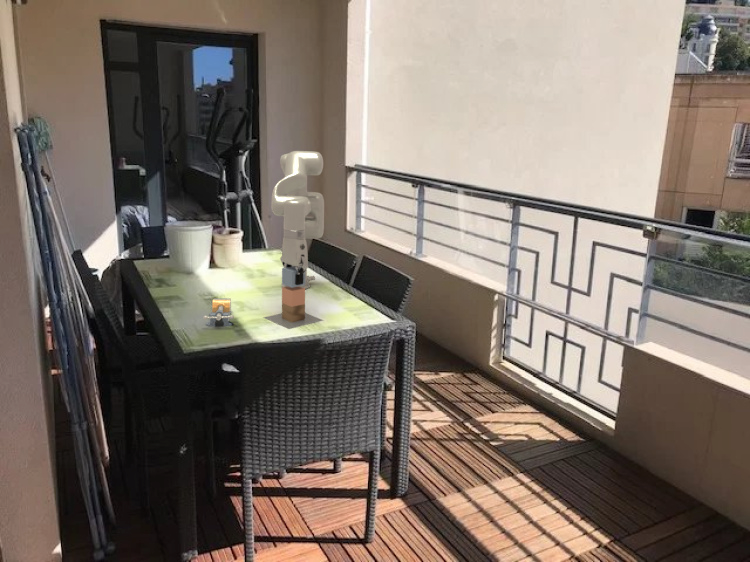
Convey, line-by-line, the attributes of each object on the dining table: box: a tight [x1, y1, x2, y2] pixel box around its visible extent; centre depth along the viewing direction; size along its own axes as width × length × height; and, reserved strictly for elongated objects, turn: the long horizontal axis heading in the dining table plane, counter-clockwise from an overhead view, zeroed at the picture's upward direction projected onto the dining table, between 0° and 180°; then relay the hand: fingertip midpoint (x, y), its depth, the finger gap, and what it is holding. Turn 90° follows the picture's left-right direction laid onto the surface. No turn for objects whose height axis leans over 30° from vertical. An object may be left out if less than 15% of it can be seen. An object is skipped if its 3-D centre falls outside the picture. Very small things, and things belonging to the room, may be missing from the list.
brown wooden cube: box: [281, 302, 306, 322], centre depth 230 cm, size 6×6×6 cm
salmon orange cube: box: [281, 286, 306, 307], centre depth 229 cm, size 6×6×6 cm
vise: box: [202, 297, 234, 327], centre depth 228 cm, size 18×10×7 cm, turn 9°
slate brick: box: [281, 266, 305, 288], centre depth 227 cm, size 6×6×6 cm
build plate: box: [263, 312, 324, 330], centre depth 231 cm, size 16×16×1 cm
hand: (293, 281), depth 227 cm, fingers closed on slate brick, 5 cm apart
